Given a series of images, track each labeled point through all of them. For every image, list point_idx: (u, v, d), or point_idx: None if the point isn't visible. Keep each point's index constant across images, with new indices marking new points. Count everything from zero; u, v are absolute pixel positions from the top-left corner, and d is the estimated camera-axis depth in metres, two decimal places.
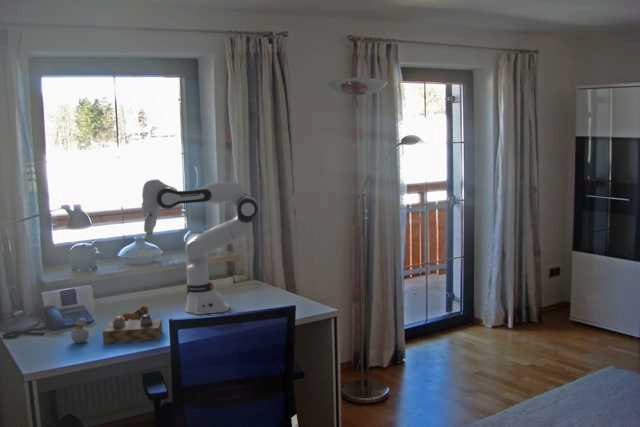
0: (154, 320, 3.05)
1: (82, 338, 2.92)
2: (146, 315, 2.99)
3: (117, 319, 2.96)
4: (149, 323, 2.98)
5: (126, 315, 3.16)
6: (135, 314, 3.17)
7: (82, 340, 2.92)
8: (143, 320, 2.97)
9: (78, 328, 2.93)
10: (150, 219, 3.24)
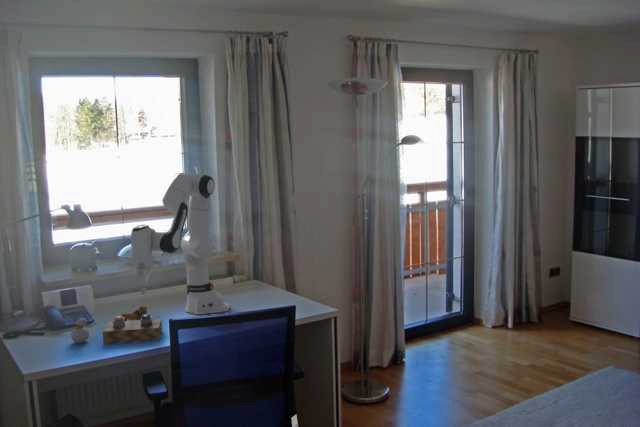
0: (154, 320, 3.05)
1: (82, 338, 2.92)
2: (146, 315, 2.99)
3: (117, 319, 2.96)
4: (149, 323, 2.98)
5: (125, 315, 3.15)
6: (133, 314, 3.16)
7: (82, 340, 2.92)
8: (143, 320, 2.97)
9: (78, 328, 2.93)
10: (142, 272, 2.87)
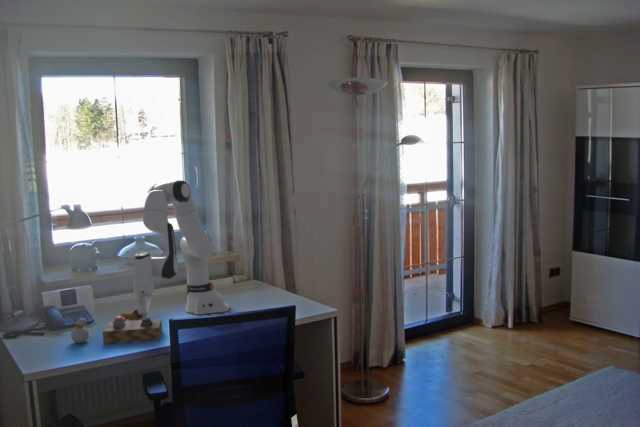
0: (154, 320, 3.05)
1: (82, 338, 2.92)
2: None
3: (117, 319, 2.96)
4: None
5: (124, 315, 3.15)
6: (132, 314, 3.16)
7: (82, 340, 2.92)
8: (143, 323, 2.97)
9: (78, 328, 2.93)
10: (143, 300, 2.89)
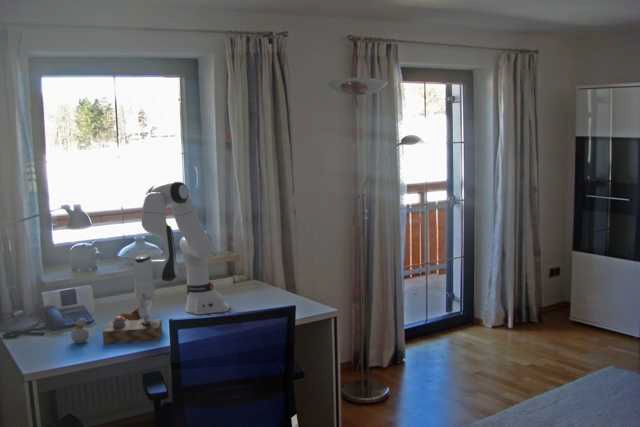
0: (154, 320, 3.05)
1: (82, 338, 2.92)
2: (146, 322, 3.00)
3: (117, 319, 2.96)
4: None
5: (123, 315, 3.15)
6: (132, 314, 3.16)
7: (82, 340, 2.92)
8: None
9: (78, 328, 2.93)
10: (144, 303, 2.89)
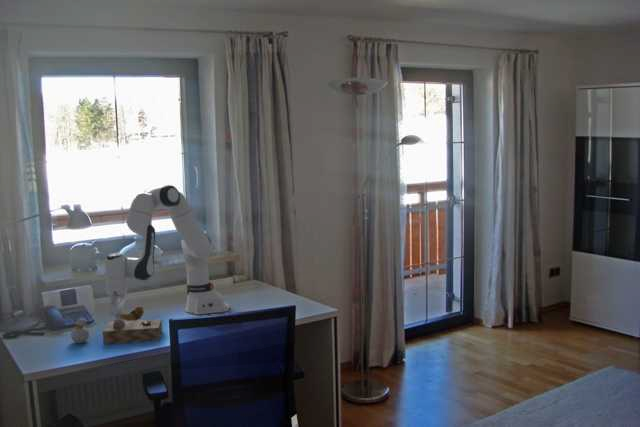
0: (154, 320, 3.05)
1: (82, 338, 2.92)
2: (146, 322, 3.00)
3: (117, 321, 2.96)
4: None
5: (121, 316, 3.15)
6: (130, 315, 3.16)
7: (82, 340, 2.92)
8: None
9: (78, 328, 2.93)
10: (115, 300, 2.87)
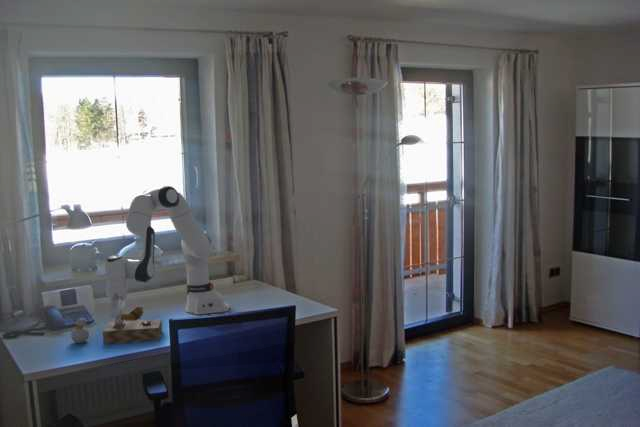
0: (154, 320, 3.05)
1: (82, 338, 2.92)
2: (146, 322, 3.00)
3: (117, 324, 2.96)
4: None
5: (121, 316, 3.15)
6: (129, 315, 3.16)
7: (82, 340, 2.92)
8: None
9: (78, 328, 2.93)
10: (116, 303, 2.87)
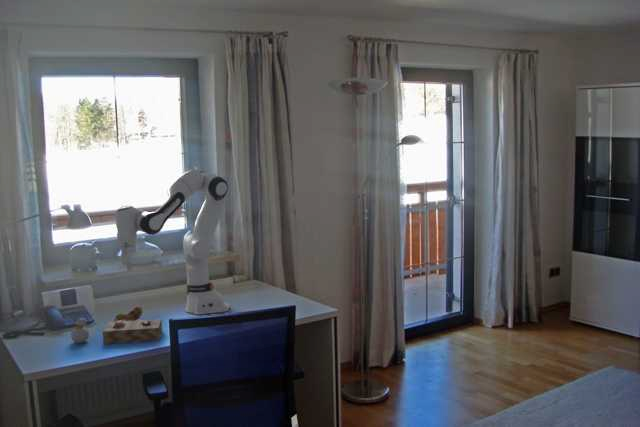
0: (154, 320, 3.05)
1: (82, 338, 2.92)
2: (146, 322, 3.00)
3: (117, 324, 2.96)
4: None
5: (120, 316, 3.14)
6: (128, 315, 3.16)
7: (82, 340, 2.92)
8: None
9: (78, 328, 2.93)
10: (127, 250, 3.00)
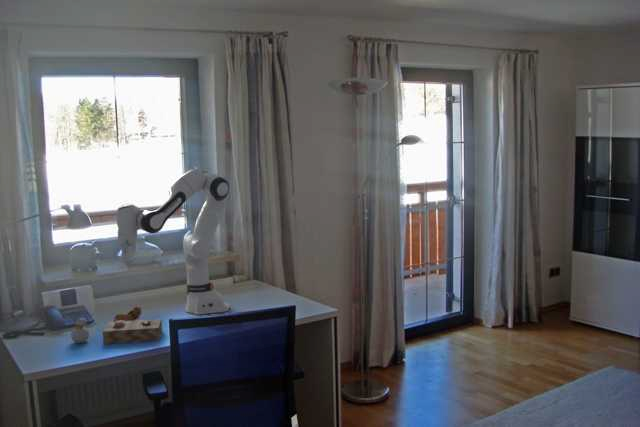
0: (154, 320, 3.05)
1: (82, 338, 2.92)
2: (146, 322, 3.00)
3: (117, 324, 2.96)
4: None
5: (119, 316, 3.14)
6: (128, 315, 3.16)
7: (82, 340, 2.92)
8: None
9: (78, 328, 2.93)
10: (127, 248, 3.00)
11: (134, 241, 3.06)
